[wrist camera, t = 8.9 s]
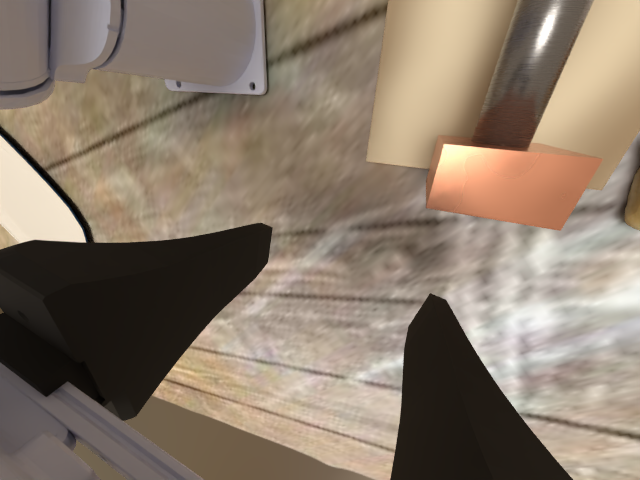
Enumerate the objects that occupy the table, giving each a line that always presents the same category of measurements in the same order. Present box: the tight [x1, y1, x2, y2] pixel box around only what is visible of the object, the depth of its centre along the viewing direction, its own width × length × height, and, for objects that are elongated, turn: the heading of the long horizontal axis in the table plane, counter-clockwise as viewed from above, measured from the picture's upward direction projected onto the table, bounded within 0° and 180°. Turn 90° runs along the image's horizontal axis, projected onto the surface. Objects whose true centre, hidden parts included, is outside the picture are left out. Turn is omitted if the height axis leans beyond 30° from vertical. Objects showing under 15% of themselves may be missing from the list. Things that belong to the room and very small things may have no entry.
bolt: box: [426, 0, 603, 231], centre depth 8 cm, size 4×10×5 cm, turn 177°
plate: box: [0, 133, 88, 243], centre depth 40 cm, size 25×25×2 cm
